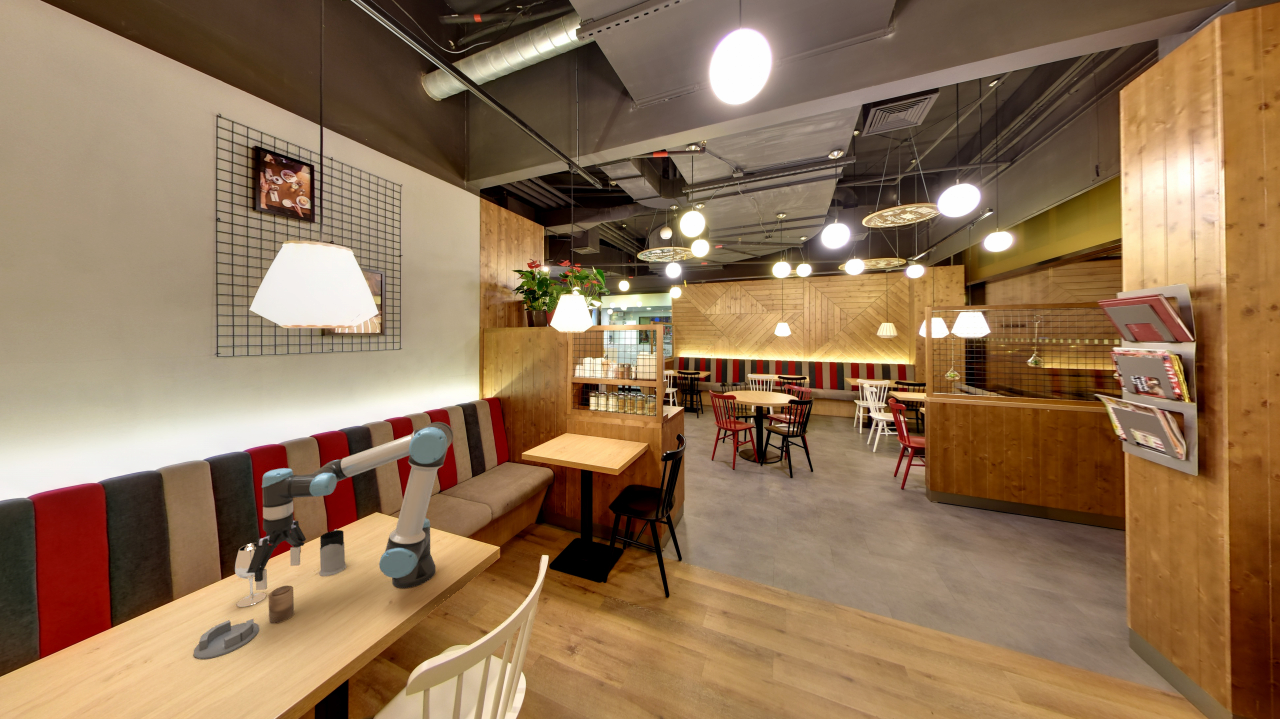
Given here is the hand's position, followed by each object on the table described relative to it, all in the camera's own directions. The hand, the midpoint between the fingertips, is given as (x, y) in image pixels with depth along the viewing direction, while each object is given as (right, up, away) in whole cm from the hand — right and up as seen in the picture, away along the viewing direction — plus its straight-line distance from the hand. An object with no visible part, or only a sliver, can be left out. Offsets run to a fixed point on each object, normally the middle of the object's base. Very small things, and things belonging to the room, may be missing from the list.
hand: (279, 576), depth 131 cm
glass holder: (-6, -13, +30) cm, 34 cm away
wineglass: (-19, -14, +9) cm, 25 cm away
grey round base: (-7, -15, -10) cm, 19 cm away
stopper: (0, -14, +1) cm, 14 cm away
